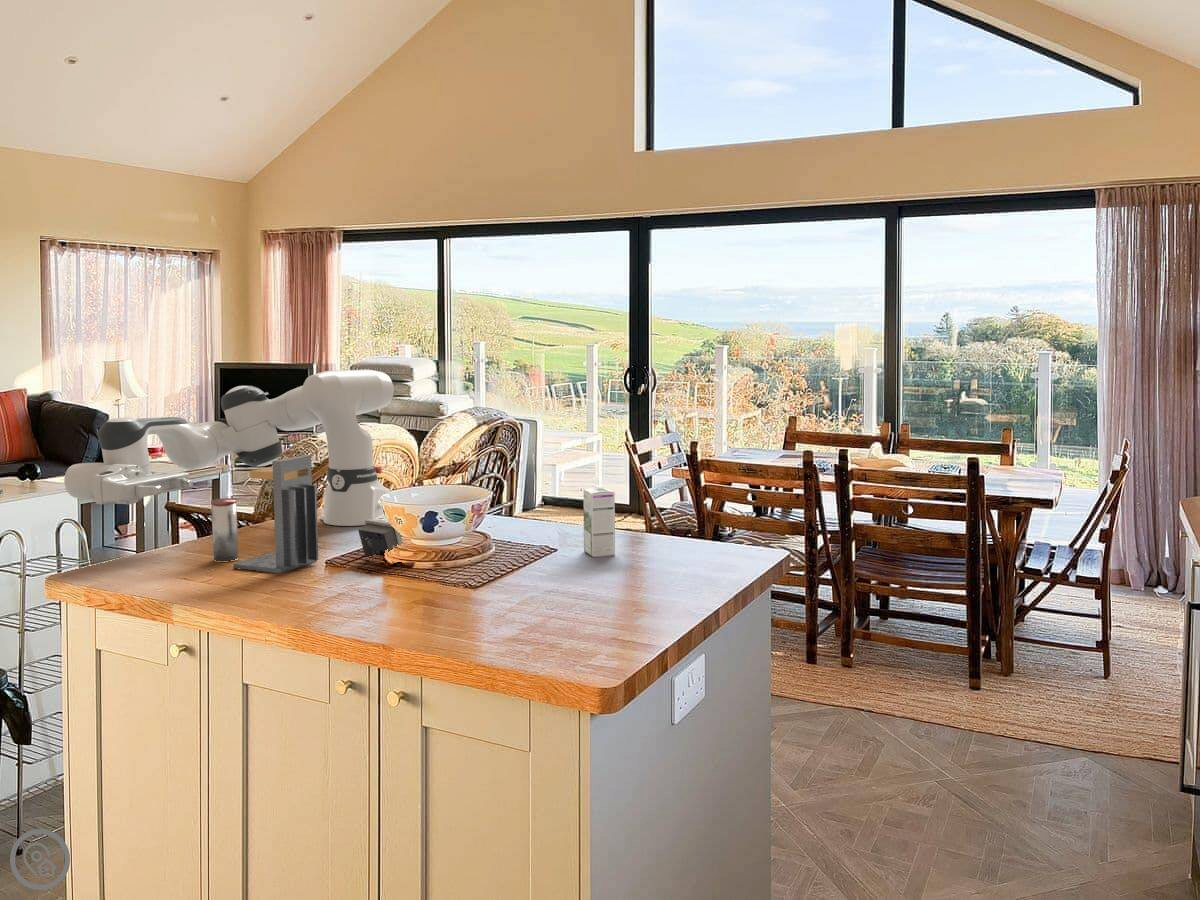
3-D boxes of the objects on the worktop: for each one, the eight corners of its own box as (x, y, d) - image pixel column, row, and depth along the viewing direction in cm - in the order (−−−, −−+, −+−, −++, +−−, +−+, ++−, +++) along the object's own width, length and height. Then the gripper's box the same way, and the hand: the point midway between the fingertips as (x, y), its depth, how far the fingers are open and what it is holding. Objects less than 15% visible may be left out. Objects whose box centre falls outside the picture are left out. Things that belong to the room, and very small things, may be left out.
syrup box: (615, 555, 224) (616, 491, 223) (590, 557, 222) (591, 492, 221) (607, 550, 230) (607, 487, 228) (582, 552, 228) (582, 488, 226)
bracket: (270, 556, 222) (267, 452, 219) (324, 561, 217) (321, 455, 214) (233, 568, 211) (229, 459, 208) (289, 574, 206) (285, 462, 203)
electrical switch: (407, 563, 217) (403, 521, 215) (390, 570, 212) (386, 527, 210) (376, 557, 222) (372, 516, 220) (358, 564, 217) (354, 522, 215)
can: (224, 556, 222) (222, 497, 220) (244, 558, 220) (241, 499, 219) (207, 561, 217) (205, 501, 216) (227, 563, 215) (225, 503, 214)
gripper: (162, 491, 235) (209, 494, 231) (90, 505, 216) (140, 509, 212) (161, 464, 235) (208, 467, 230) (88, 476, 216) (138, 479, 211)
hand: (175, 487), depth 221 cm, fingers open, 8 cm apart
